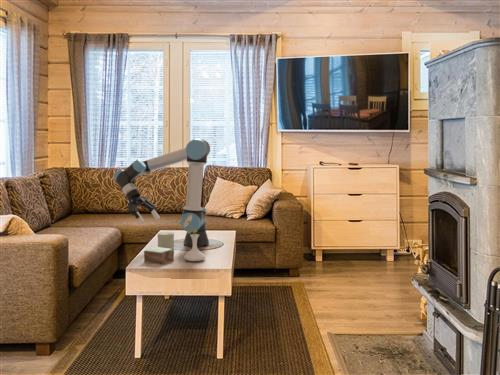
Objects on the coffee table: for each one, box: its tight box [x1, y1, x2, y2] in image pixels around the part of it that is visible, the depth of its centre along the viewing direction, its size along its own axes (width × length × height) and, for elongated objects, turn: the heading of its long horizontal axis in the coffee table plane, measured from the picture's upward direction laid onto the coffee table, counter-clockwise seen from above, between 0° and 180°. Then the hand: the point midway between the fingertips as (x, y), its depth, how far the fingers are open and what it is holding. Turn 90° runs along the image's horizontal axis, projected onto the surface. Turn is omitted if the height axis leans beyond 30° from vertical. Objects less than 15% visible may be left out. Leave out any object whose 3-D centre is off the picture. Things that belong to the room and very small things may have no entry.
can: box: [157, 231, 175, 251], centre depth 282 cm, size 9×9×12 cm
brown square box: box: [143, 246, 175, 265], centre depth 264 cm, size 11×11×6 cm
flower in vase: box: [183, 215, 206, 262], centre depth 265 cm, size 13×11×25 cm
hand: (150, 220), depth 286 cm, fingers open, 13 cm apart
